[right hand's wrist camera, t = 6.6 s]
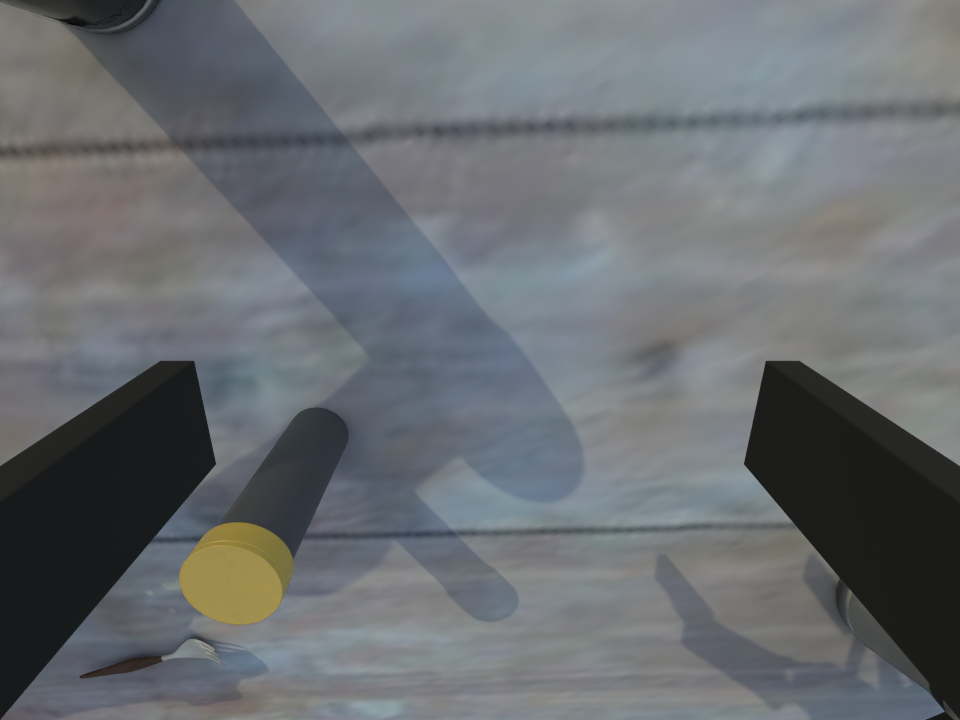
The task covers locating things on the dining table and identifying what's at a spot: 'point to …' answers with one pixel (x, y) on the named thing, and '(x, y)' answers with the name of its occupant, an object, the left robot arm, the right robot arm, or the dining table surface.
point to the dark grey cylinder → (293, 477)
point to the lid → (237, 573)
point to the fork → (160, 659)
